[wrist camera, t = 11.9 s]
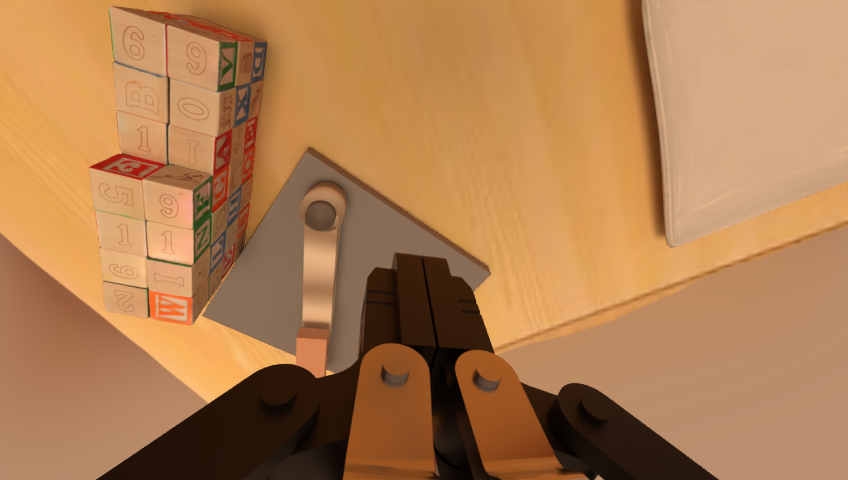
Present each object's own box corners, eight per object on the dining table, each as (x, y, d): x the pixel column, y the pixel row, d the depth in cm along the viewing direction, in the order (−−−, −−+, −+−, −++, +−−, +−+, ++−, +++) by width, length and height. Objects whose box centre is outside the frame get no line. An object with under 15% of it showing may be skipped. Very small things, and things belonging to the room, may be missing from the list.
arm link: (306, 178, 34) (296, 194, 30) (348, 184, 35) (344, 200, 31) (303, 327, 43) (295, 352, 39) (336, 329, 44) (332, 355, 40)
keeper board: (207, 307, 43) (174, 355, 36) (309, 147, 34) (290, 172, 28) (374, 381, 51) (372, 430, 45) (488, 267, 43) (505, 307, 36)
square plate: (615, -10, 30) (643, -16, 27) (975, -193, 26) (1060, -227, 23) (650, 237, 43) (672, 254, 40) (896, 138, 39) (944, 148, 36)
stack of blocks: (187, 12, 29) (65, -4, 18) (269, 41, 30) (200, 42, 19) (183, 237, 38) (101, 314, 27) (245, 250, 39) (190, 329, 29)
